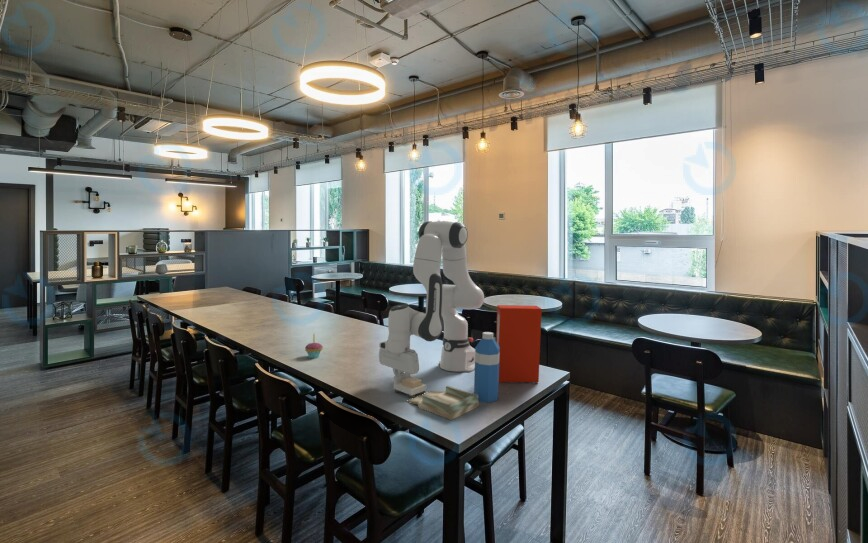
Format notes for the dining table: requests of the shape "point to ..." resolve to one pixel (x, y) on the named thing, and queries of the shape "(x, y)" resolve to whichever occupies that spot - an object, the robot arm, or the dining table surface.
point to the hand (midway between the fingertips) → (398, 379)
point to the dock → (447, 402)
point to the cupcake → (313, 349)
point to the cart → (408, 384)
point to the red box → (518, 342)
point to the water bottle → (487, 368)
